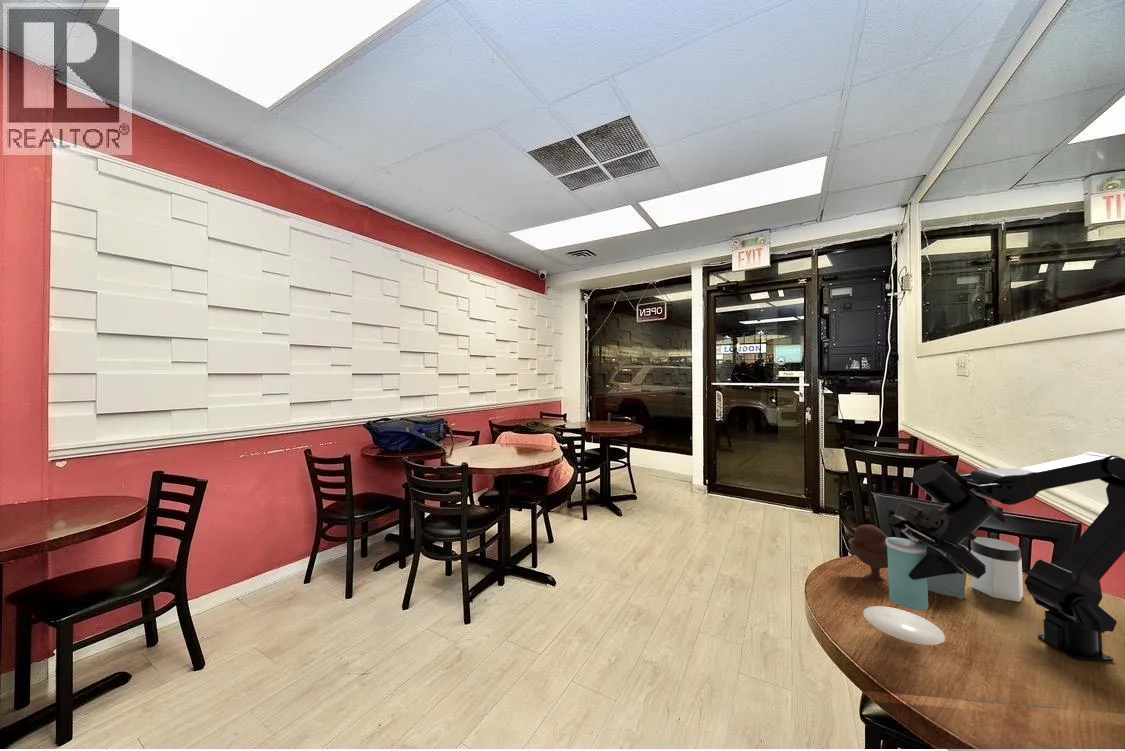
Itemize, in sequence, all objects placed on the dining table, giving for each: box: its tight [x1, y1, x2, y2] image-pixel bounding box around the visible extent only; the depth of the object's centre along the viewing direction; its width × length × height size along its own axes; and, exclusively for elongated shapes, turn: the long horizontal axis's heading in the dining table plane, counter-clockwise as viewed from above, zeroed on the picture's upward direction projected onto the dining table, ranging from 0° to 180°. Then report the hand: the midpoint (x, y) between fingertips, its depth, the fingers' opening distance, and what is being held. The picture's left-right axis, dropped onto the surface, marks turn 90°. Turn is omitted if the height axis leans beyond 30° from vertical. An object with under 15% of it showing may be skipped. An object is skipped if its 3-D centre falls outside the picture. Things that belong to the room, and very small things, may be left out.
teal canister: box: [886, 536, 929, 611], centre depth 79 cm, size 6×6×12 cm
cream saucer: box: [862, 605, 946, 646], centre depth 81 cm, size 13×13×1 cm
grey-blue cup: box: [922, 539, 970, 601], centre depth 95 cm, size 10×10×12 cm
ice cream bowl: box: [847, 524, 890, 583], centre depth 100 cm, size 11×11×15 cm
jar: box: [970, 536, 1024, 603], centre depth 94 cm, size 9×8×12 cm
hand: (899, 570), depth 79 cm, fingers closed on teal canister, 6 cm apart
